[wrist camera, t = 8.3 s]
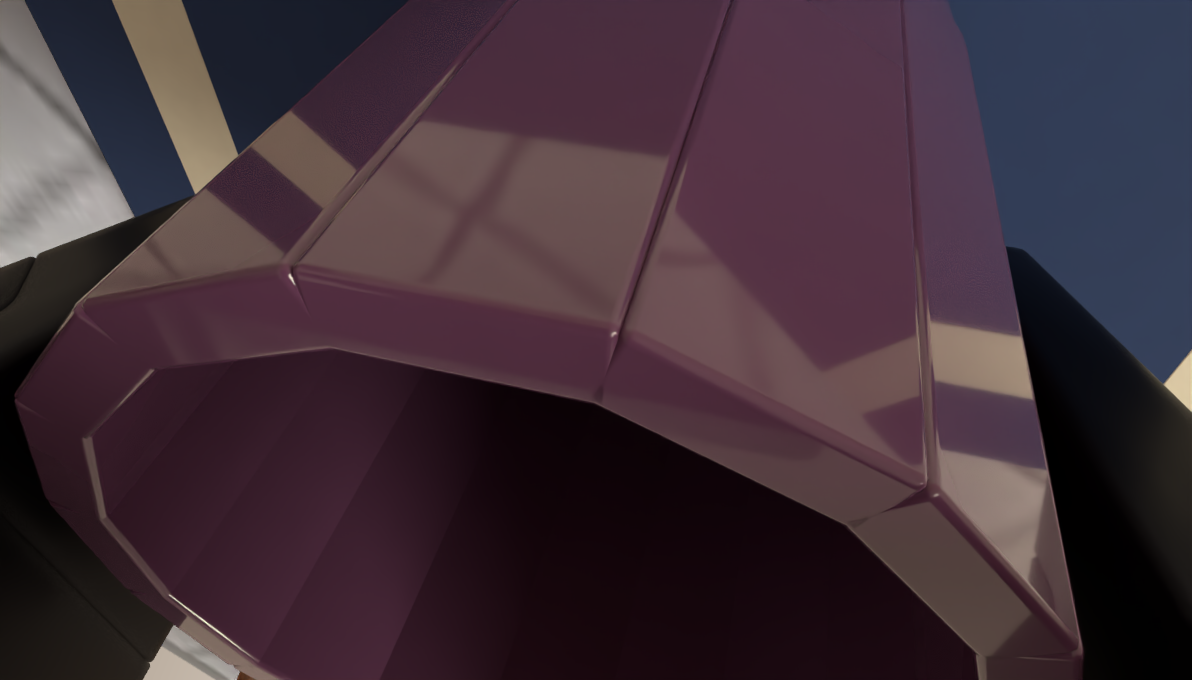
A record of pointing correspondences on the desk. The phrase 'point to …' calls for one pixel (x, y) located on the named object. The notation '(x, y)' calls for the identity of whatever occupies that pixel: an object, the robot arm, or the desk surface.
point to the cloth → (999, 69)
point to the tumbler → (582, 364)
